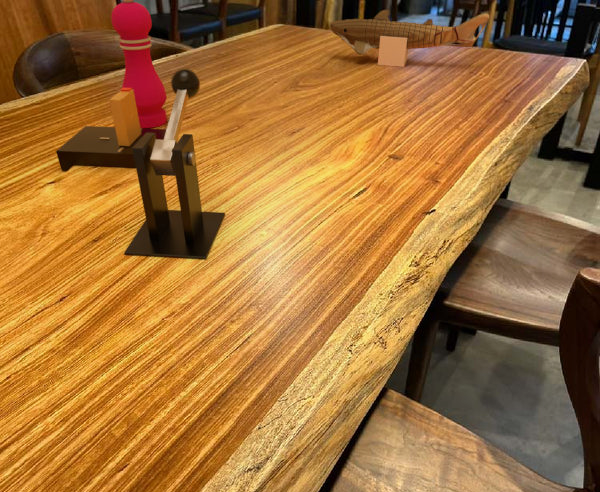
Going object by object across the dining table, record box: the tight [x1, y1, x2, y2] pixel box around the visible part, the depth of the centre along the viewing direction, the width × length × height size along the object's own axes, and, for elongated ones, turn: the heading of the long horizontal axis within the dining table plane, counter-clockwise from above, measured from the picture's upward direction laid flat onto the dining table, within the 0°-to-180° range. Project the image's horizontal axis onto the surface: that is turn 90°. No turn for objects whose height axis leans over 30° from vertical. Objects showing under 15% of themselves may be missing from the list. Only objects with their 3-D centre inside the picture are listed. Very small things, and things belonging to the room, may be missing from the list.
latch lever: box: [150, 68, 201, 177], centre depth 58 cm, size 14×3×3 cm, turn 175°
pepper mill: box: [110, 0, 168, 129], centre depth 87 cm, size 7×7×20 cm
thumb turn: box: [108, 87, 141, 146], centre depth 76 cm, size 5×2×7 cm, turn 174°
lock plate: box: [55, 125, 167, 172], centre depth 79 cm, size 14×10×3 cm
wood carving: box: [329, 9, 490, 68], centre depth 122 cm, size 9×35×11 cm, turn 74°
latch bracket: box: [123, 133, 226, 261], centre depth 58 cm, size 10×9×12 cm
